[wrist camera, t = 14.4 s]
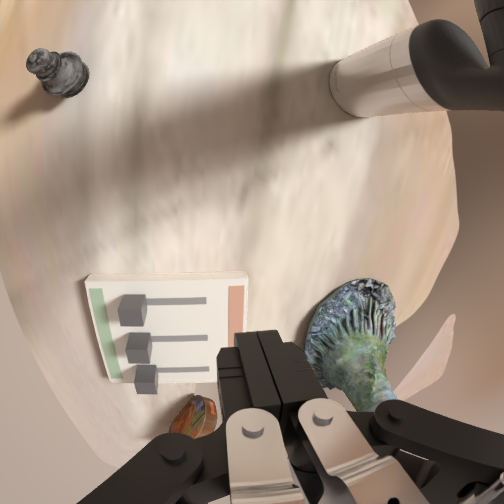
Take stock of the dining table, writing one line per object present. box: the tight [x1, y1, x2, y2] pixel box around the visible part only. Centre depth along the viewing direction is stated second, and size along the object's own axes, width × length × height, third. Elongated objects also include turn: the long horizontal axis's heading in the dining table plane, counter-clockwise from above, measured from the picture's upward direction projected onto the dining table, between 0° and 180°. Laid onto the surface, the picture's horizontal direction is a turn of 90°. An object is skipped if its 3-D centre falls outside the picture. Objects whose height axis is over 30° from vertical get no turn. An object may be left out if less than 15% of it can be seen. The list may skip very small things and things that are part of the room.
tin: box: [169, 395, 217, 439], centre depth 44 cm, size 15×3×8 cm, turn 146°
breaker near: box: [117, 294, 147, 327], centre depth 35 cm, size 3×2×4 cm
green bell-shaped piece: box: [304, 278, 398, 412], centre depth 43 cm, size 19×21×19 cm
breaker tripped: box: [125, 333, 153, 364], centre depth 36 cm, size 3×2×4 cm
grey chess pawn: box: [26, 48, 89, 97], centre depth 22 cm, size 6×6×12 cm
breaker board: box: [85, 271, 248, 384], centre depth 40 cm, size 22×18×3 cm
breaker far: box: [134, 365, 159, 394], centre depth 38 cm, size 3×2×4 cm
